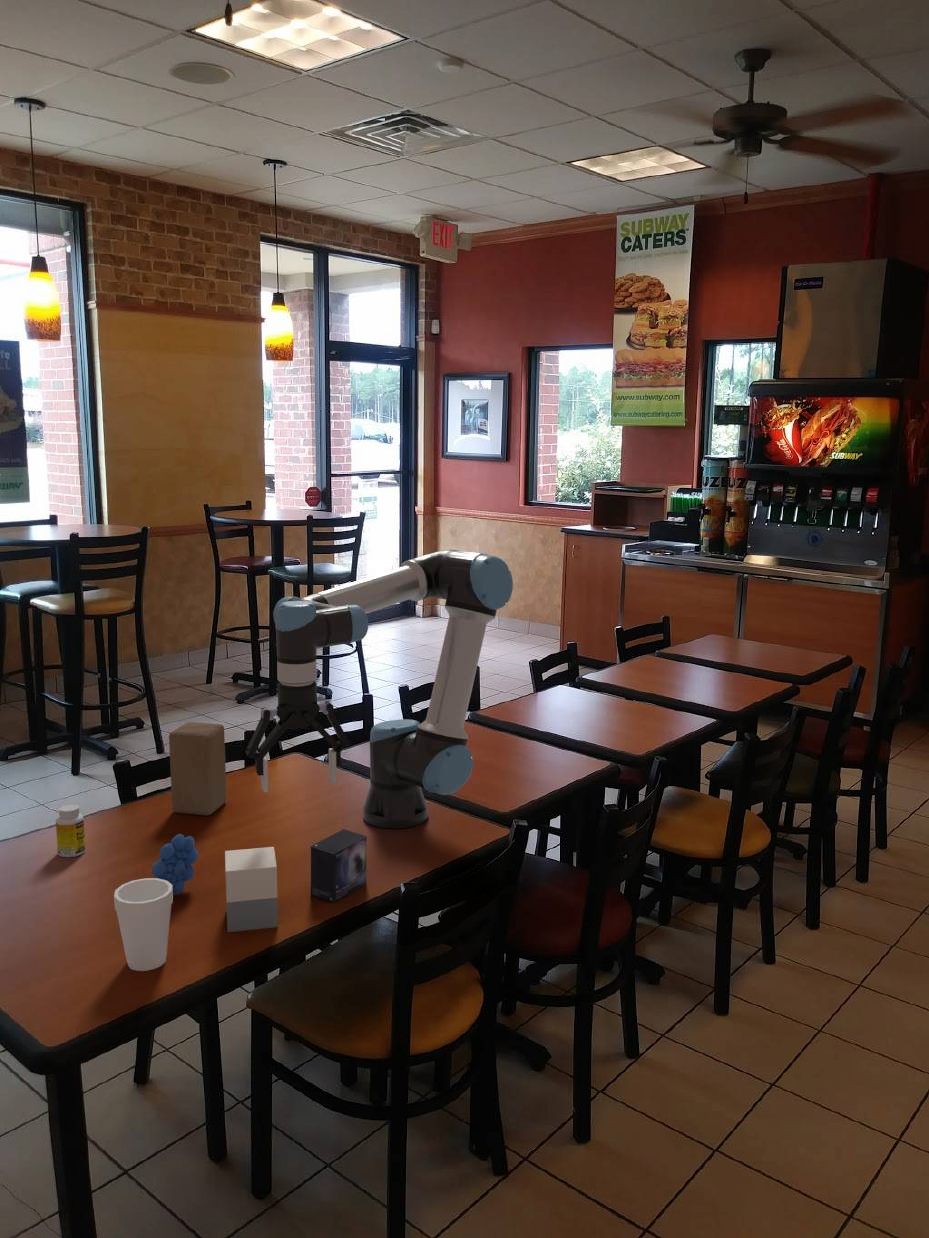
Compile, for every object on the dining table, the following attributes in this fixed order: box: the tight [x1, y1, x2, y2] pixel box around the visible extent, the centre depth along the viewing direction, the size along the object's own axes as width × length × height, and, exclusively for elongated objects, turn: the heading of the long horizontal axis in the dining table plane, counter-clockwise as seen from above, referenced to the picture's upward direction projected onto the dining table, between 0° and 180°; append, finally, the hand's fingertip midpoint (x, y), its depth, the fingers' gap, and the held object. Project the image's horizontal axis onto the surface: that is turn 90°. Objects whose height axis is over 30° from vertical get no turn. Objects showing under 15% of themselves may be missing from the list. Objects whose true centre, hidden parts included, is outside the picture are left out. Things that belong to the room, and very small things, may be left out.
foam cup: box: [113, 877, 174, 972], centre depth 168 cm, size 10×9×13 cm
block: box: [168, 721, 228, 816], centre depth 236 cm, size 10×10×20 cm
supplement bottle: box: [55, 804, 86, 858], centre depth 211 cm, size 6×6×10 cm
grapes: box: [151, 833, 199, 896], centre depth 193 cm, size 12×7×12 cm, turn 151°
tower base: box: [226, 897, 279, 933], centre depth 184 cm, size 9×9×6 cm
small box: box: [309, 828, 368, 904], centre depth 195 cm, size 11×6×10 cm, turn 148°
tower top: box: [224, 846, 278, 904], centre depth 183 cm, size 9×9×6 cm
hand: (299, 785), depth 195 cm, fingers open, 13 cm apart
